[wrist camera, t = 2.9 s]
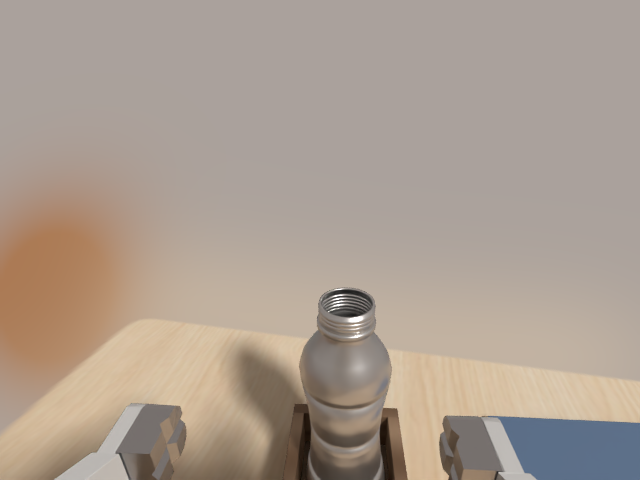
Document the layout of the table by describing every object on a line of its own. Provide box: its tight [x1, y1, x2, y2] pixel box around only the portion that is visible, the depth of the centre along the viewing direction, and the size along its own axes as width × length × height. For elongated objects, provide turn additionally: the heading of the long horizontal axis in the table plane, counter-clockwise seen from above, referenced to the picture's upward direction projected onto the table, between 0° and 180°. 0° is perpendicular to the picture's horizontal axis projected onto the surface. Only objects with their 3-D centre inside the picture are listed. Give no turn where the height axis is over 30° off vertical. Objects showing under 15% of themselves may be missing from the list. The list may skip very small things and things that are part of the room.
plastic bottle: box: [299, 288, 392, 480], centre depth 27 cm, size 6×7×20 cm
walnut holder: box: [283, 404, 408, 480], centre depth 31 cm, size 11×10×4 cm
